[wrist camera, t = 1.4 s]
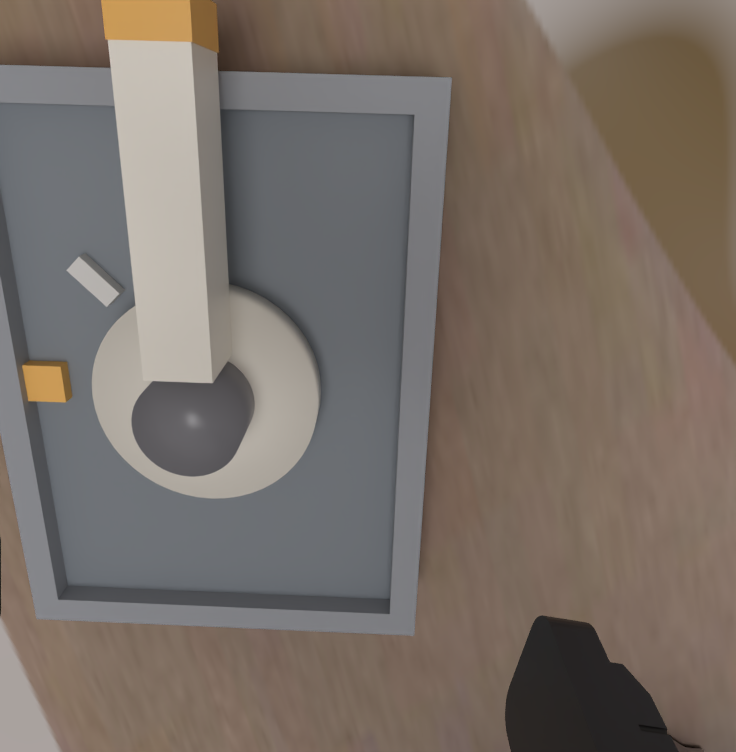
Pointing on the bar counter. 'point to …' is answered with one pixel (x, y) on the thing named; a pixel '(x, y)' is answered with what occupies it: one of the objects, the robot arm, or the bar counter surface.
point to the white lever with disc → (190, 281)
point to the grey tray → (266, 278)
